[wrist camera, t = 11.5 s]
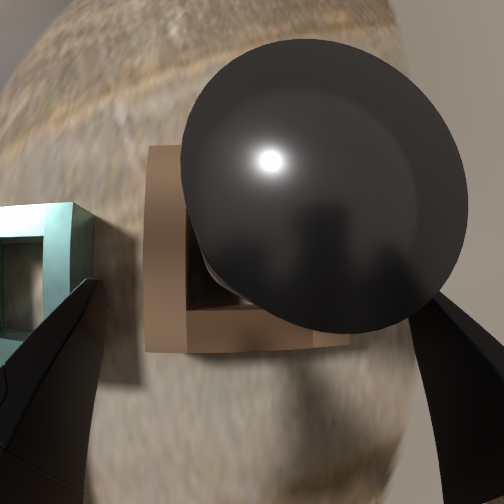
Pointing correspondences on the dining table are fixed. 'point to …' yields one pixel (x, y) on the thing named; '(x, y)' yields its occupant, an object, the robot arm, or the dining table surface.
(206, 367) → the dining table surface
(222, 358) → the dining table surface
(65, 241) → the socket block
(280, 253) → the grey and white cylinder
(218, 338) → the frame
